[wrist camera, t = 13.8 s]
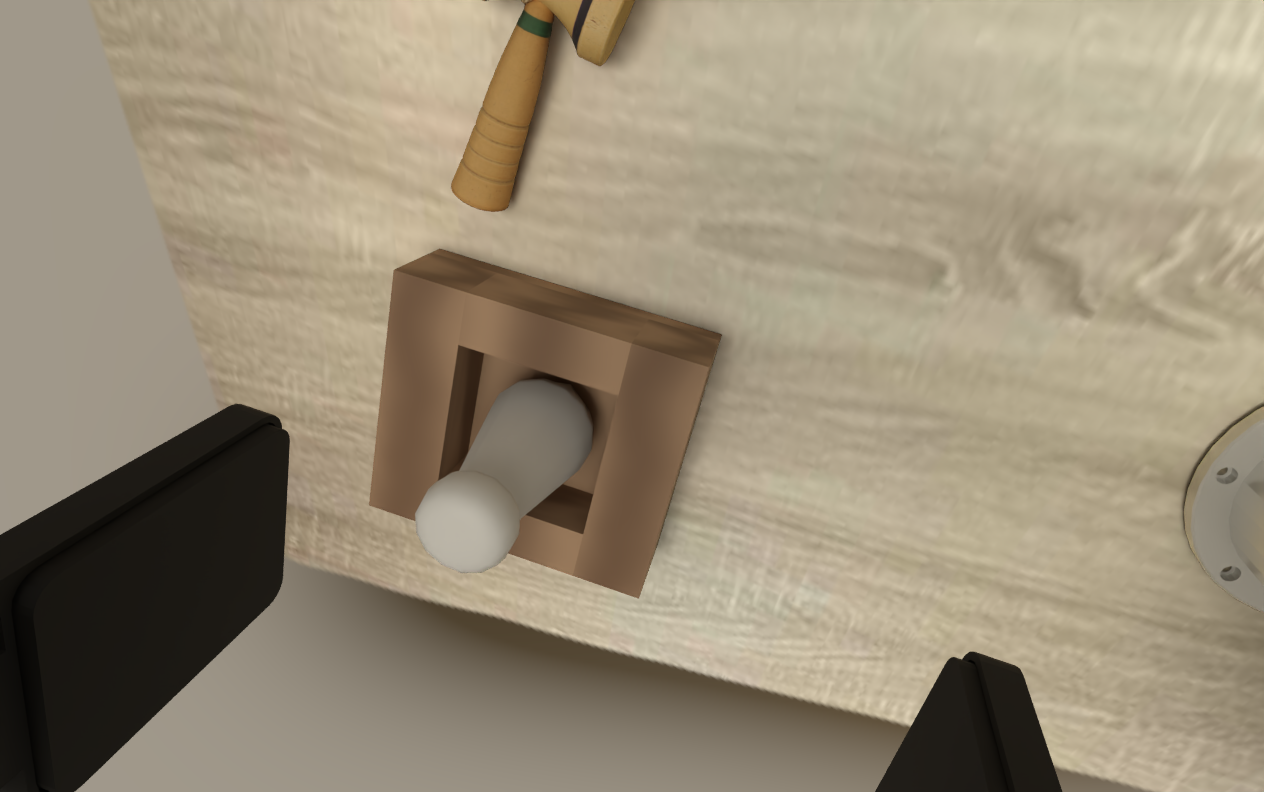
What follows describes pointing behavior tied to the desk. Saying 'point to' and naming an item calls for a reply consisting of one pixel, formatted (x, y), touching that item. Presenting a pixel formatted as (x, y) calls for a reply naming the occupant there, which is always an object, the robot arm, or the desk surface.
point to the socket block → (557, 351)
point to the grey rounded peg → (505, 474)
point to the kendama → (527, 91)
